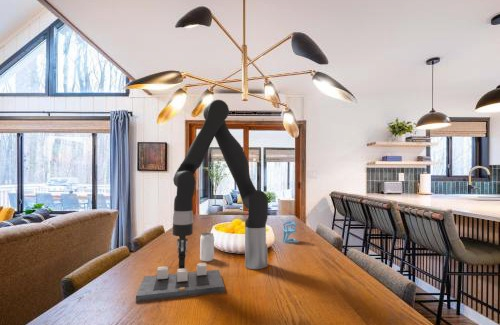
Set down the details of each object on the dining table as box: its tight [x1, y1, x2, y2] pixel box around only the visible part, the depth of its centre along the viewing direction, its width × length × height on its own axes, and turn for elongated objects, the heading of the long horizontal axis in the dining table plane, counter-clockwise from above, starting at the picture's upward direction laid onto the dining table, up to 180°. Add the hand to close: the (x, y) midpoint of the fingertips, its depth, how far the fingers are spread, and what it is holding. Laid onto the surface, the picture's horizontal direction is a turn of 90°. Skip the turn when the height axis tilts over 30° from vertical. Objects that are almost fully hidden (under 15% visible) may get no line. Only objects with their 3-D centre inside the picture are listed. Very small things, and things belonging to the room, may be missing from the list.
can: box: [199, 232, 215, 263], centre depth 121 cm, size 6×6×12 cm
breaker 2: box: [196, 262, 208, 276], centre depth 97 cm, size 4×2×4 cm, turn 104°
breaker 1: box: [156, 265, 169, 279], centre depth 94 cm, size 4×2×4 cm, turn 104°
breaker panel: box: [135, 269, 225, 303], centre depth 91 cm, size 28×16×2 cm, turn 104°
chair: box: [282, 221, 300, 244], centre depth 154 cm, size 8×8×12 cm
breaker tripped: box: [176, 268, 189, 282], centre depth 91 cm, size 4×2×4 cm, turn 104°
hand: (181, 267), depth 98 cm, fingers closed
